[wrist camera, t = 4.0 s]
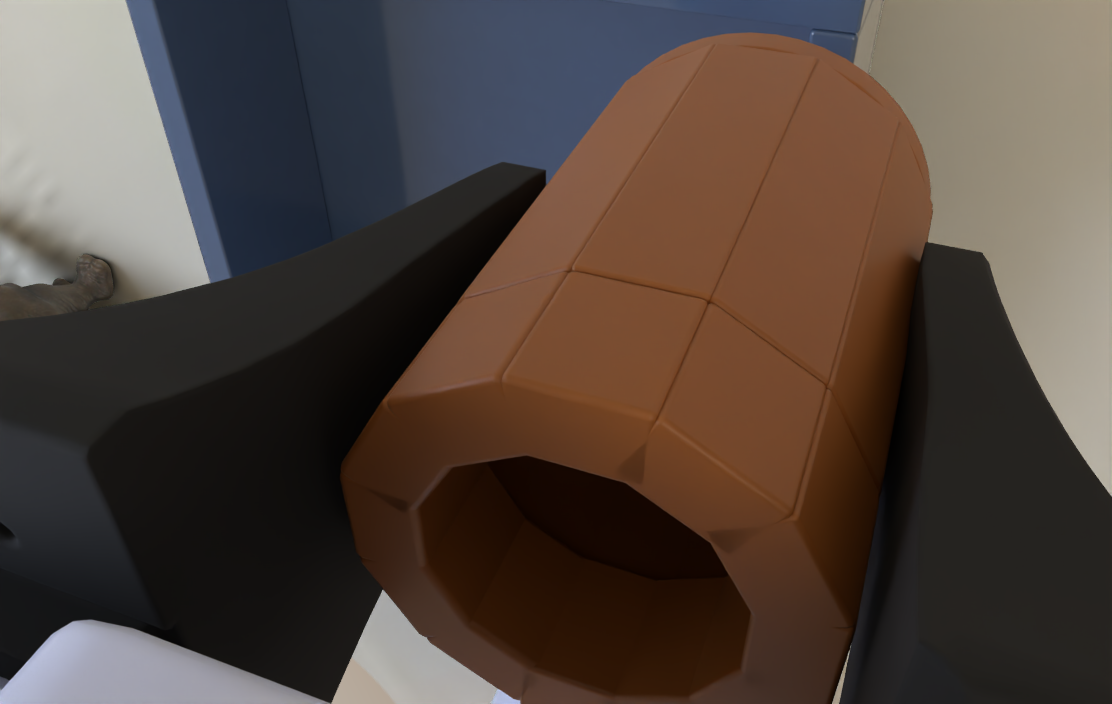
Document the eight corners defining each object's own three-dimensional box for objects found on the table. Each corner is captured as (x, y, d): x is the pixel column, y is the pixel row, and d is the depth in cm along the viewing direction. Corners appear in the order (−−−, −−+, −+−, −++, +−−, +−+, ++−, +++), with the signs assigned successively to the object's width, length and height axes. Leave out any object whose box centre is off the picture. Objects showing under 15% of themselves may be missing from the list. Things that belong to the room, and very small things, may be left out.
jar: (890, 360, 14) (798, 807, 9) (592, 293, 16) (375, 655, 11) (973, 59, 11) (904, 481, 6) (598, 7, 13) (301, 326, 8)
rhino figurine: (-86, 112, 31) (-273, 211, 26) (279, 377, 32) (159, 511, 28) (-90, 196, 33) (-258, 297, 29) (245, 436, 35) (132, 565, 31)
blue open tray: (800, 416, 25) (761, 553, 22) (338, 304, 29) (246, 406, 25) (906, -107, 17) (867, -14, 14) (245, -165, 21) (92, -103, 17)
